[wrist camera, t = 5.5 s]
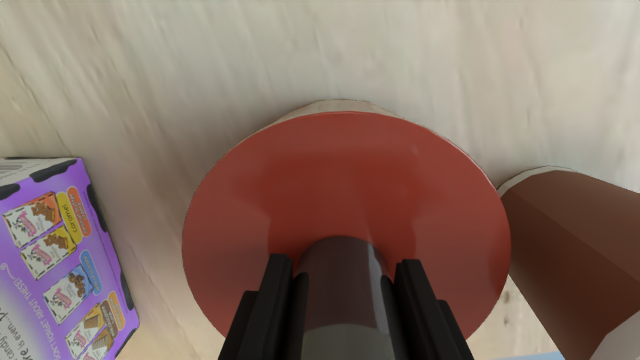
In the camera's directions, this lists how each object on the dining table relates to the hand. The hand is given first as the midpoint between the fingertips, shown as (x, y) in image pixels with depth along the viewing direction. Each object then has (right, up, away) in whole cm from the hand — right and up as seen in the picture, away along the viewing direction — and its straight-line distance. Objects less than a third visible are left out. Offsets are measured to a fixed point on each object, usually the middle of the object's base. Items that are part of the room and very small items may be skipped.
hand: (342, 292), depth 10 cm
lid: (0, +1, +1) cm, 1 cm away
